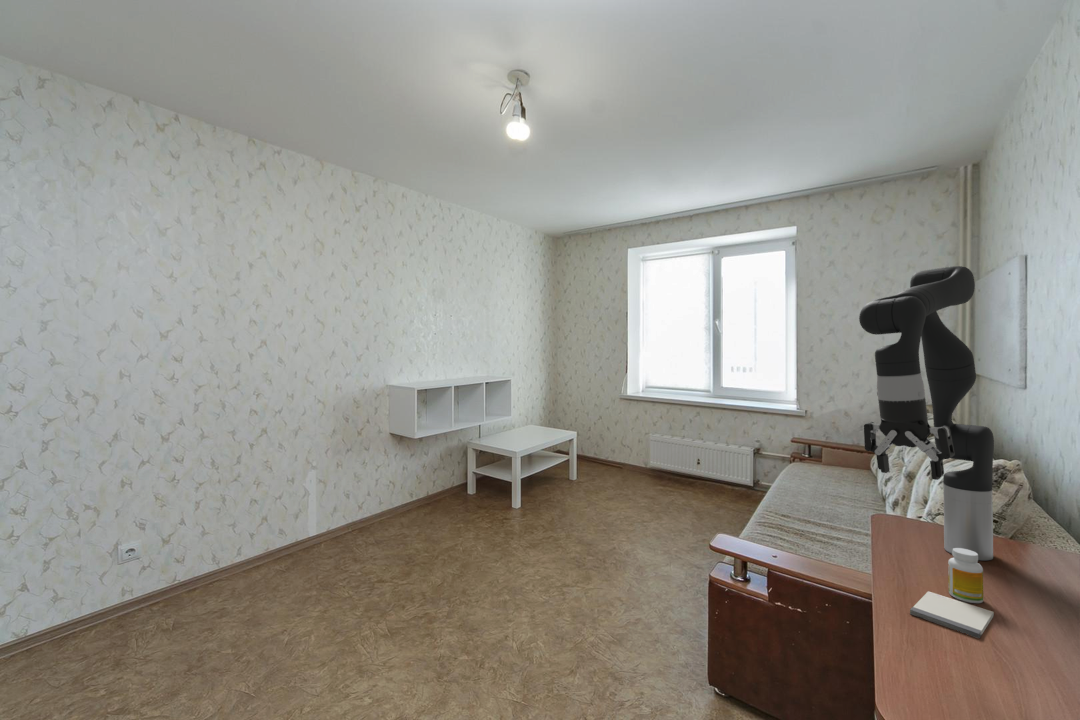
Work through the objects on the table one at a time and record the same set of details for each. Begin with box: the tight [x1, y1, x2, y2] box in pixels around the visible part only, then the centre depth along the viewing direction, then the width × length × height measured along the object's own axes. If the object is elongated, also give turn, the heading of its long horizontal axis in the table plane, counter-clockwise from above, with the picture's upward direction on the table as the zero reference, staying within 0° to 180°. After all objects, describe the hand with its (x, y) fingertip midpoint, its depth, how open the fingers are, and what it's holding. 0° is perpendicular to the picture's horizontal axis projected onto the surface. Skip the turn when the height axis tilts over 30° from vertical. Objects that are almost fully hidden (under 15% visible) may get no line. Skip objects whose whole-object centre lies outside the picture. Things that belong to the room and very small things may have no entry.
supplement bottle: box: [947, 548, 984, 604], centre depth 96 cm, size 5×5×10 cm
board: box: [909, 590, 995, 639], centre depth 89 cm, size 12×10×1 cm
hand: (909, 475), depth 92 cm, fingers open, 8 cm apart
